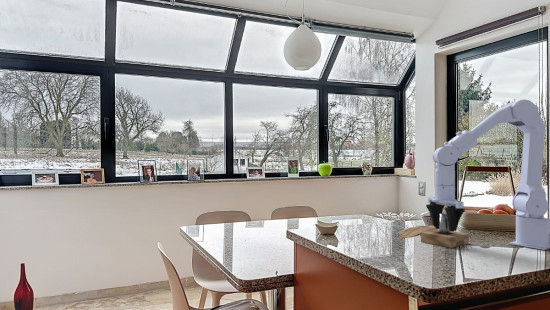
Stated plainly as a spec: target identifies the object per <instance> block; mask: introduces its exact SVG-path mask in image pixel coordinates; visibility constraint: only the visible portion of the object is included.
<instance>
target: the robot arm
mask: <svg viewBox="0 0 550 310" xmlns="http://www.w3.org/2000/svg"><path fill="white" fill-rule="evenodd" d="M503 123H507V124H509V125H512V126H515V127H516V128H518V129H519V130H520V131H521V132H522V133H523V139H522V140H523V142H522V155H521V168H520V169H521V171H520V183H519V185H518V186H517V187H516V190H515V194H514V196H513V198H512V202H511V204H512V207H513V209H514V210H515V211H516V212H515V240H514V241H511V242H509V244H510V245H513V246H519V247H525V248H531V249H537V250H543V251H546V250H548V249H550V218H548V217H545V215H546V214H547V212H548V211H549V202H548V200H547V192H546V190H545V189H544V187H543V186H542V179H543V176H542V175H543V163H544V151H545V150H544V149H545V148H544V147H545V133H546V125H545V124H544V121H543V119H542V116H541V114H540V113H539V106H538V105H537V104H535V103H534V102H533V101H531V100H530V99H520V100H517V101H514V102H509V103H506V104H504V105H503V106H501V107H500V108H498V109H495V111H493V112H492V113H491V114H490V115H488V116H487V117H486V118H484V119H482V120H481V122H479V123H478V124H477V125H476V126H474V127H472V129H470V130H463V131H461V130H460V131H457V132H455V135H456V136H454V137H453V138H451V139H450V140H449V141H445V142H444V143H443V146H440V147H438V148H436V149H435V150H434V153H433V154H432V160H433V162H434V163H435V164H434V166H435V169H434V196H427V204H426V205H425V206H426V209H427V210H428V212H429V215H430V217H431V221H432V226H434V227H436V228H437V227H439V214H440V213H443V210H444V211H445V213H446V214H447V217H448V227H449V231H454V232H457V230H458V225H459V223H460V220H461V218H462V217H463V214H464V213H465V211H466V209H465V208H464V205H465V204H464V201H461V200H458V199H456V195H455V194H456V193H455V192H456V186H455V185H456V170H455V169H456V167H455V164H456V163H457V161H458V160H459V158H460V157H461V156H464V154H466V153H467V152H468V151H470V150H471V149H472V148H474V147H475V146H476V145H477V143H478V139H479V138H481V137H482V136H483V135H485V134H486V133H489V132H490V131H491V130H492V129H495V128H496V127H497V126H499V125H500V124H503ZM445 206H446V207H445Z"/></svg>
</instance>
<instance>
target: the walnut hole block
mask: <svg viewBox="0 0 550 310" xmlns="http://www.w3.org/2000/svg"><path fill="white" fill-rule="evenodd" d="M469 235H470V234H469V233H465V232H460V231H450V235H444V234H439V228H436V230H431V231H425V232H421V235H420V242H421V243H424V244H428V245H429V244H430V245H435V246H439V247H444V248H449V249H450V248H455V247H459V246H465V245H468V244H470V242H469V241H470V240H469V237H470V236H469Z"/></svg>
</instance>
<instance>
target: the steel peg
mask: <svg viewBox="0 0 550 310" xmlns="http://www.w3.org/2000/svg"><path fill="white" fill-rule="evenodd" d="M438 229H439V234H444V235H450V231H449V227H448V217H447V214H446V212H444V213H443V212H442V213H440V214H439V228H438Z"/></svg>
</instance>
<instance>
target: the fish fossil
mask: <svg viewBox="0 0 550 310" xmlns="http://www.w3.org/2000/svg"><path fill="white" fill-rule="evenodd" d="M436 229H437V227H434V226H433V225H417V226H412V227H410V226H409V227H408V228H405V229H402V230H400V231H398V232H397V234H401V236H399V237H398V238H399V239H409V238H414V237H418V236H421V232H425V231H431V230H436Z"/></svg>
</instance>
